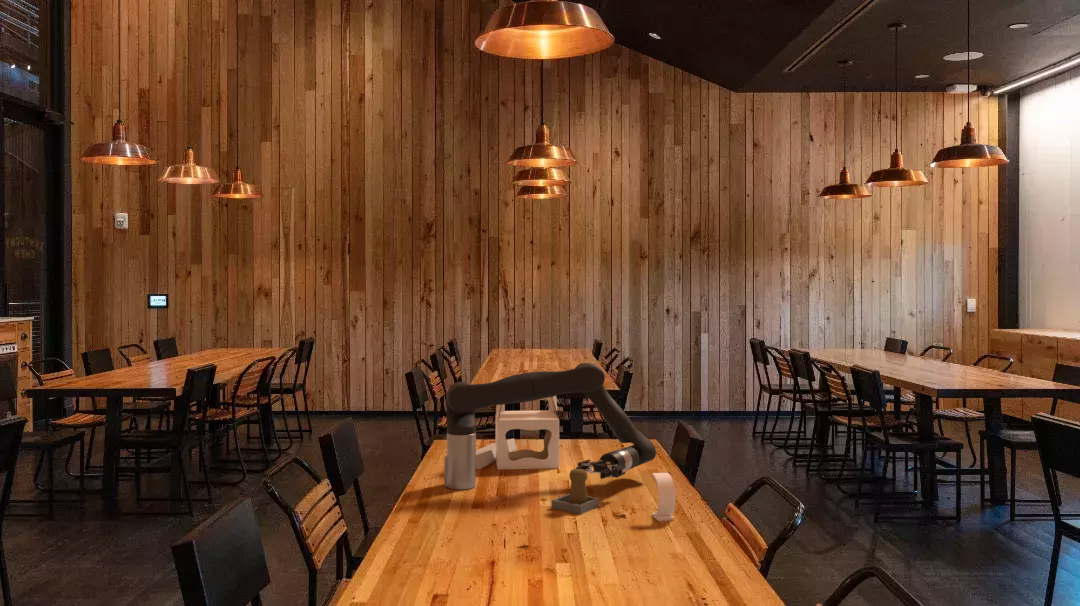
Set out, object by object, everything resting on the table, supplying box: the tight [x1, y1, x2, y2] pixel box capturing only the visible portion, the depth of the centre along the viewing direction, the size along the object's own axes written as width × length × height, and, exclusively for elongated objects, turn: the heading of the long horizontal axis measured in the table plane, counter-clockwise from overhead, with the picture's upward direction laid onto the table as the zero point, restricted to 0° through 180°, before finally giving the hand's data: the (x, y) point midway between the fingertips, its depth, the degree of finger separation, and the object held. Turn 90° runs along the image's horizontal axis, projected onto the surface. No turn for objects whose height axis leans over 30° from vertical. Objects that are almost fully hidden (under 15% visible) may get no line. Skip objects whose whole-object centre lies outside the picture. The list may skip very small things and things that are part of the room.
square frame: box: [551, 492, 600, 515], centre depth 215 cm, size 10×10×2 cm
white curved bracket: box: [651, 472, 677, 522], centre depth 205 cm, size 5×6×12 cm
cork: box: [568, 468, 588, 505], centre depth 215 cm, size 6×6×11 cm
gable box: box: [494, 395, 560, 471], centre depth 267 cm, size 22×13×28 cm, turn 97°
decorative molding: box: [476, 438, 517, 470], centre depth 277 cm, size 34×5×10 cm
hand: (589, 473), depth 221 cm, fingers open, 8 cm apart
